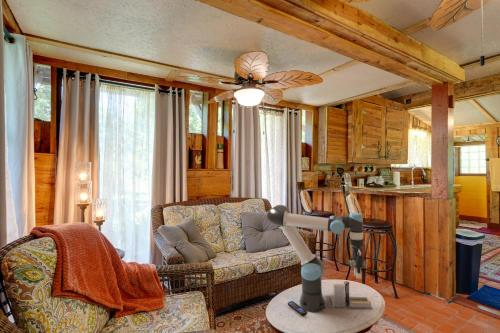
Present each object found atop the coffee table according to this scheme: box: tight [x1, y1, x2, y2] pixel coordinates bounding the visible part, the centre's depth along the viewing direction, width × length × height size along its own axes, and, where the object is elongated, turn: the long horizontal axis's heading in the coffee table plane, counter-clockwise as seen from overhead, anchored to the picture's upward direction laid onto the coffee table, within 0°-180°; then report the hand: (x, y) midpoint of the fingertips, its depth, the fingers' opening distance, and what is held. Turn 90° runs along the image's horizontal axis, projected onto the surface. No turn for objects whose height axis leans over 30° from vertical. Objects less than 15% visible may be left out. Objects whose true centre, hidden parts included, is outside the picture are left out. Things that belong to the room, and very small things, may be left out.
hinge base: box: [329, 280, 373, 310], centre depth 164 cm, size 22×12×13 cm, turn 82°
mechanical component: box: [348, 259, 367, 270], centre depth 166 cm, size 3×10×10 cm, turn 84°
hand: (357, 276), depth 166 cm, fingers closed on mechanical component, 3 cm apart
